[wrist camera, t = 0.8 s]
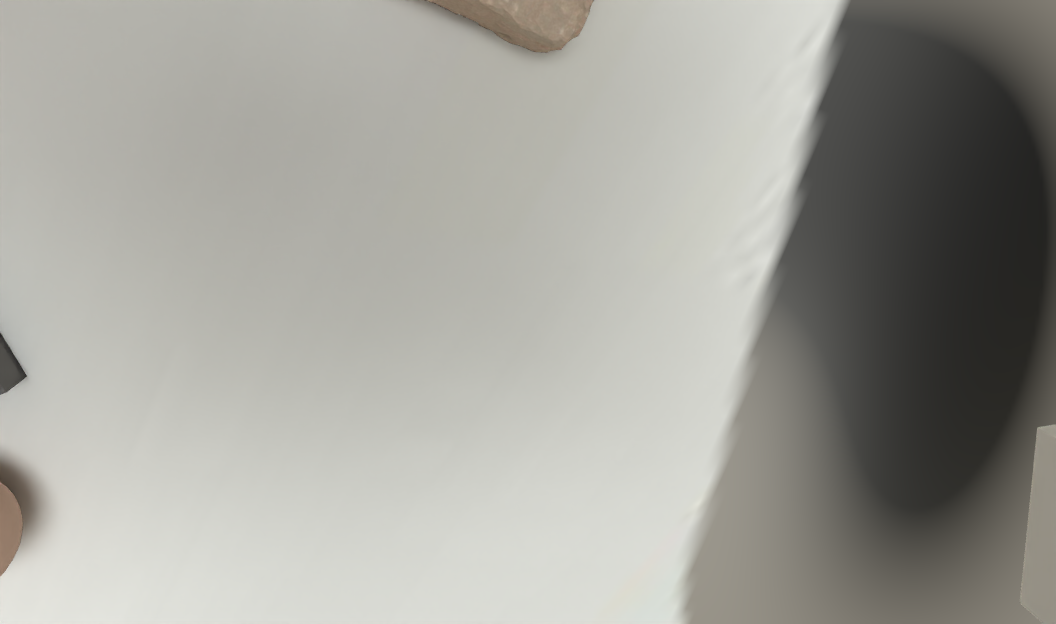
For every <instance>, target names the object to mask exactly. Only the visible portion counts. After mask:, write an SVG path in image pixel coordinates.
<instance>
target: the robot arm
mask: <svg viewBox="0 0 1056 624" xmlns="http://www.w3.org/2000/svg"><path fill="white" fill-rule="evenodd" d="M1029 507H1030V508H1029V516H1028V526H1027V536H1026V546H1025V557H1024V566H1023V576H1022V586H1021V596H1020V603H1021V604H1022V605H1023V606H1024V607H1025V608H1026V609H1027V610H1028V611H1029V612H1031V613H1032V614H1033V615H1034V616H1035V617H1036V618H1037V619H1038V620H1040V621H1041V622H1042V623H1043V624H1056V425H1050V426H1044V427H1038V428H1037V438H1036V448H1035V457H1034V467H1033V477H1032V487H1031V497H1030V506H1029Z"/></svg>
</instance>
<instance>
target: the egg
mask: <svg viewBox="0 0 1056 624" xmlns="http://www.w3.org/2000/svg"><path fill="white" fill-rule="evenodd" d="M22 528H23V521H22V513H21V510H20V506H19V504H18V502H17V500H16V498H15V496H14V495H13V493H12V492H11V491H10V490H9V489H8V488H7V487H6V486H5V485H4V484H2V483H1V482H0V576H1V575H2V574H3V573H4V572H5V571H6V569H7V568H8V566H9V564H10V563H11V561H12V560H13V558H14V556H15V554H16V552H17V550H18V547H19V545H20V540H21V534H22Z"/></svg>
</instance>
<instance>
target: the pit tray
mask: <svg viewBox="0 0 1056 624" xmlns="http://www.w3.org/2000/svg"><path fill="white" fill-rule="evenodd" d="M25 377H26V374H25V373H24V371H23V370H22V368H21V366H20V365H19V363H18V361H17V360H16V358H15V357H14V355H13V353H12V352H11V350H10V348H9V347H8V345H7V344H6V342H5V340H4V339H3V337H2V335H1V334H0V395H1V394H3V393H6V392H7V391H9V390H10V389H11V388H12V387H14V386H15V385H16V384H18V383H19V382H20V381H21V380H23V379H24V378H25Z"/></svg>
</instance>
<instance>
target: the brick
mask: <svg viewBox="0 0 1056 624" xmlns="http://www.w3.org/2000/svg"><path fill="white" fill-rule="evenodd" d="M427 1H429V2H432V3H435V4H438V5H439V6H442V7H444V8H446V9H448V10H450V11H452V12H453V13H455V14H460V15H462V16H463V17H467V18H469V19H471V20H473V21H475V22H478V23H479V25H480V26H482V27H484V28H487V29H489V30H492V31H493V32H494V33H495V34H496V35H498V36H499V37H501V38H502V39H504V40H506V41H507V42H509V43H512V44H516V45H520V46H522V47H524V48H527V49H529V50H531V51H534V52H546V53H547V52H549V51H550V50H552V51H553V50H561V49H562V48H563V47H564V46H565V44H566V43H567V42H569V41H570V40H571V39H573V38H575V37H577V36H578V35H579V34H580V32H581V30H582V28H583V26H584V24H585V21H586V19H587V17H588V15H589V12H590V7H591V4H592V3H593V1H594V0H427Z"/></svg>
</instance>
